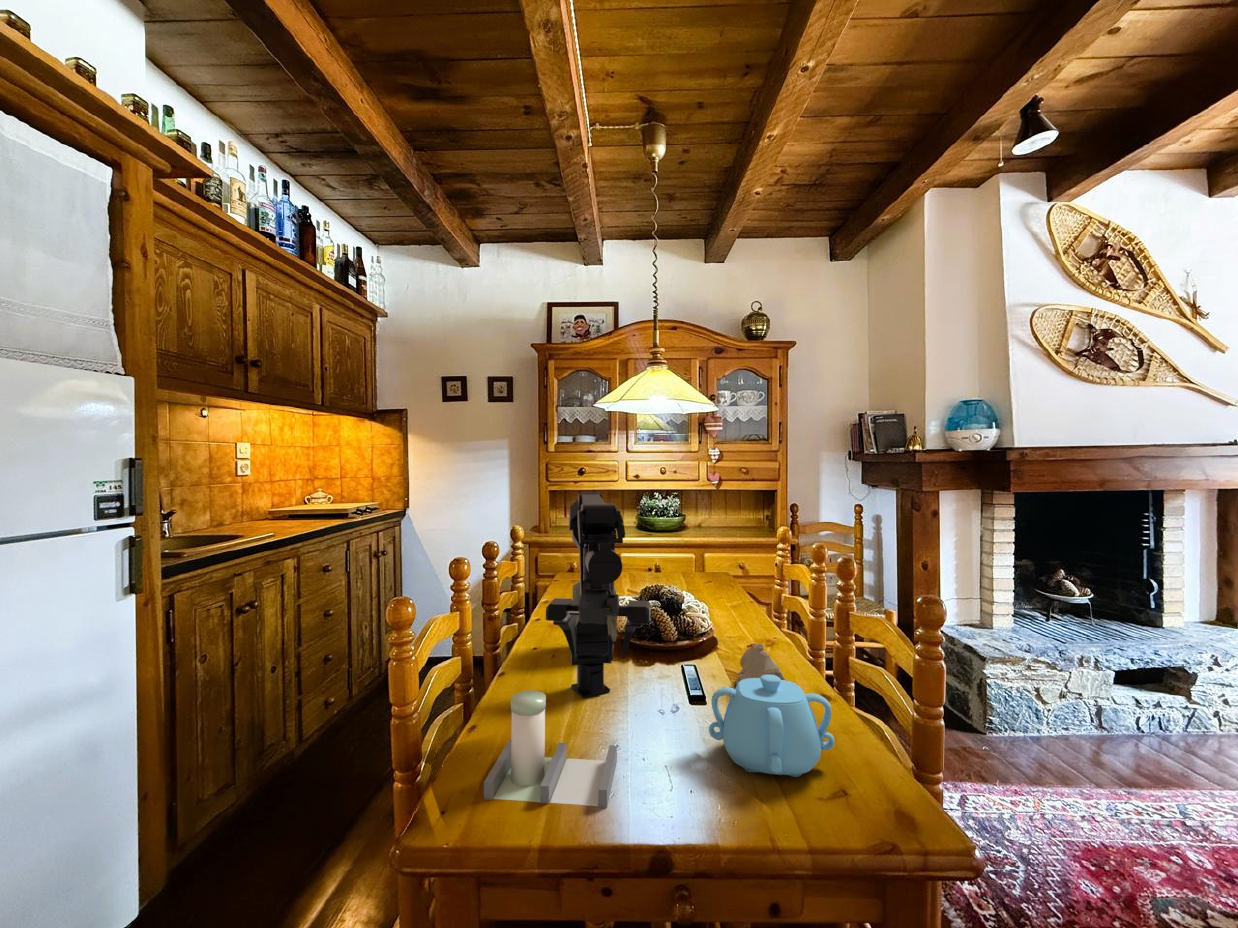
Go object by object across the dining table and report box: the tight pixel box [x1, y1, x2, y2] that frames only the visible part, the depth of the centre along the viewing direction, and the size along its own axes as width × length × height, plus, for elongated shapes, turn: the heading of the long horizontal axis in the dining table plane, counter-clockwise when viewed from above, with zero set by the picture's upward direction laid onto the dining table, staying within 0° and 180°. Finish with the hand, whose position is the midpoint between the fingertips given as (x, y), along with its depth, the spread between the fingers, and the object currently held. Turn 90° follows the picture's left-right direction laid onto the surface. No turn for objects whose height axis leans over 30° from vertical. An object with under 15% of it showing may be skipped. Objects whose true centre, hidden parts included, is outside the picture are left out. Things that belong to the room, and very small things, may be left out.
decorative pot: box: [708, 675, 836, 778], centre depth 91 cm, size 20×20×14 cm
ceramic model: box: [735, 643, 786, 686], centre depth 118 cm, size 14×11×10 cm
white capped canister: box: [510, 690, 547, 786], centre depth 84 cm, size 5×5×12 cm
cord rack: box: [483, 739, 618, 809], centre depth 83 cm, size 12×18×4 cm
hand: (598, 657), depth 101 cm, fingers open, 9 cm apart
